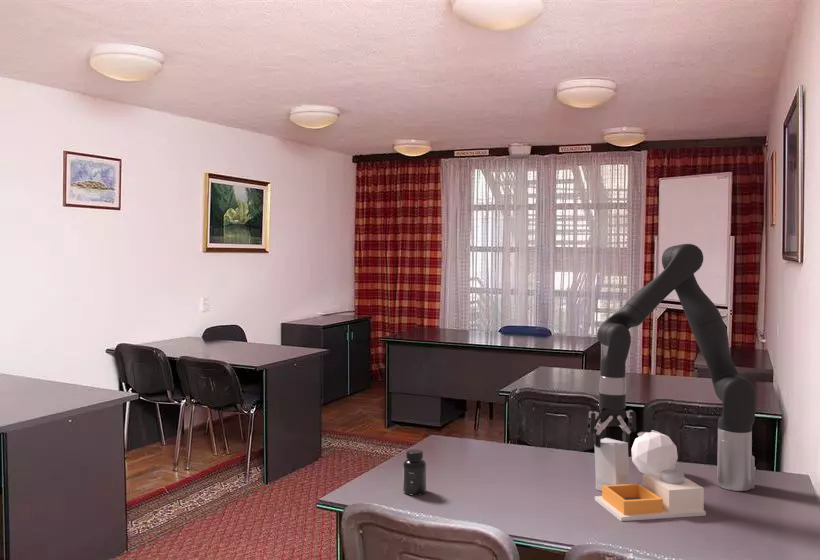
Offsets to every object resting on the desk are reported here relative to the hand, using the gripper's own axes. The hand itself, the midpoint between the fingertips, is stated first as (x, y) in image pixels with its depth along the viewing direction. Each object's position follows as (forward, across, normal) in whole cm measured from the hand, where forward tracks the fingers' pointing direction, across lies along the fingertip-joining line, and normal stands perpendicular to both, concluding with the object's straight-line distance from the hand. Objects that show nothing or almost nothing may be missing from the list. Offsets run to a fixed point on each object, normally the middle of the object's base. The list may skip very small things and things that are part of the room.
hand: (611, 446), depth 202 cm
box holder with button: (+13, -4, +14) cm, 20 cm away
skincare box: (+13, 0, 0) cm, 13 cm away
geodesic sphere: (+13, -20, -12) cm, 27 cm away
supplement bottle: (+14, +57, -8) cm, 59 cm away
